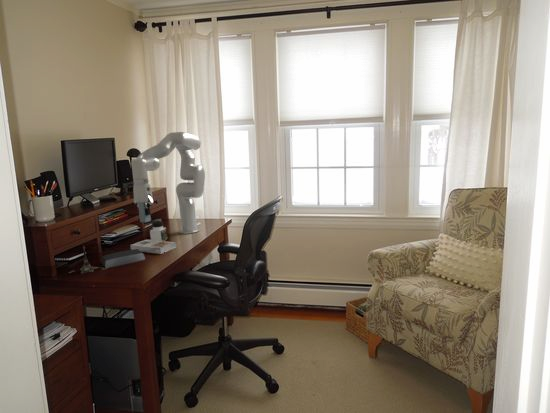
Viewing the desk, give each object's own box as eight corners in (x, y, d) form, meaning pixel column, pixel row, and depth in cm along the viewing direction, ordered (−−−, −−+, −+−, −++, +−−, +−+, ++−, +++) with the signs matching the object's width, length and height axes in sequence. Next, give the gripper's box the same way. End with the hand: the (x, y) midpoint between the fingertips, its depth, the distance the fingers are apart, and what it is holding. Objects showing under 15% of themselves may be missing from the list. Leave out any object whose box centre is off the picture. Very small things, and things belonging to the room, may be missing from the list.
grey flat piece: (147, 244, 232) (146, 239, 231) (176, 247, 221) (175, 242, 221) (131, 250, 221) (130, 244, 221) (161, 253, 211) (160, 248, 210)
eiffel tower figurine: (108, 269, 193) (105, 242, 190) (92, 276, 183) (88, 248, 181) (85, 267, 198) (81, 240, 196) (68, 274, 189) (63, 246, 186)
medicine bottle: (162, 242, 235) (159, 222, 233) (150, 242, 236) (148, 222, 234) (167, 238, 242) (165, 219, 239) (156, 238, 243) (154, 219, 241)
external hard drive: (146, 260, 202) (145, 253, 202) (105, 269, 192) (104, 261, 191) (139, 254, 213) (138, 247, 212) (100, 262, 203) (99, 255, 202)
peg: (145, 220, 223) (143, 200, 221) (150, 220, 221) (148, 201, 219) (140, 222, 219) (137, 202, 217) (145, 222, 217) (143, 202, 215)
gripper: (157, 180, 215) (161, 214, 219) (135, 180, 223) (139, 212, 227) (147, 182, 209) (150, 217, 212) (124, 182, 217) (128, 215, 220)
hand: (144, 214), depth 219 cm, fingers closed on peg, 4 cm apart
